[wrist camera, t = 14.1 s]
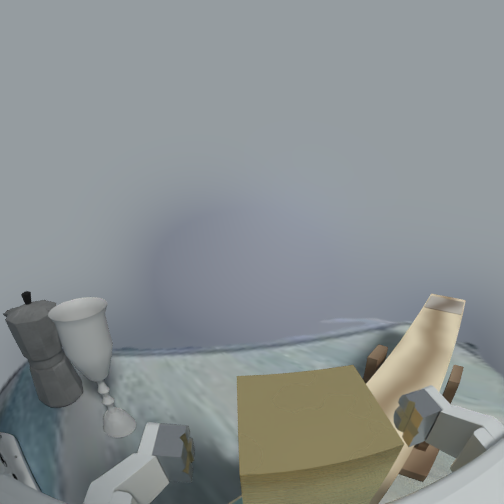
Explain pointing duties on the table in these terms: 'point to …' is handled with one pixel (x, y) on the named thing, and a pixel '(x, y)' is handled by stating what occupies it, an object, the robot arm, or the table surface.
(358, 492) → the tall olive textured block
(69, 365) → the coffeepot
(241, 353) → the table surface
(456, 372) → the beam stand
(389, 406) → the balance beam
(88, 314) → the chalice
